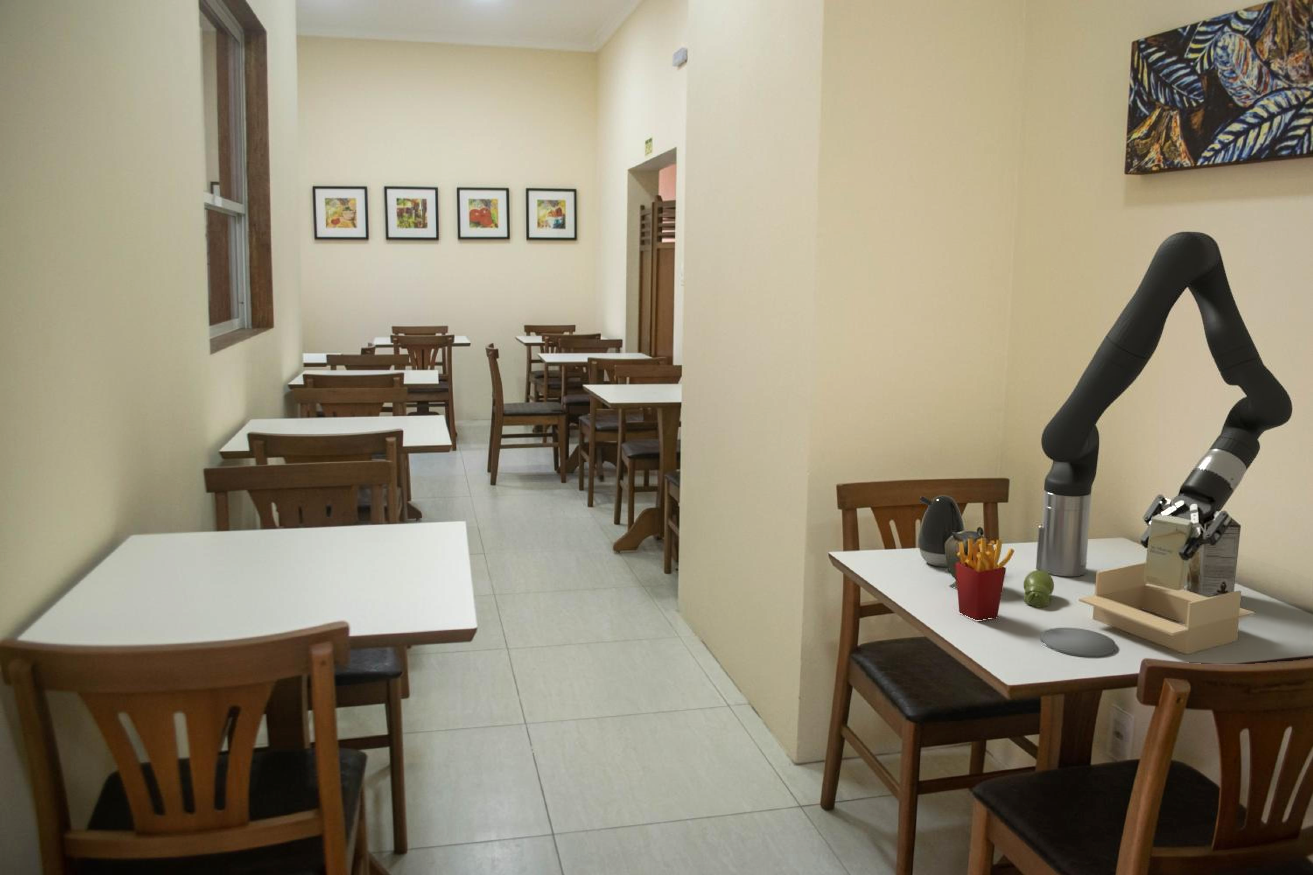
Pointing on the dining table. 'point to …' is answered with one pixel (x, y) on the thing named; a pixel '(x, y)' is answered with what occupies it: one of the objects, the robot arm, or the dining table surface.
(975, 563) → the french fries
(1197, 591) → the coffee box
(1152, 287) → the robot arm
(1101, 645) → the coaster
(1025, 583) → the pear
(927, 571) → the dining table surface
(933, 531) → the dark grey rounded figure
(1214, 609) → the carton
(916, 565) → the dining table surface
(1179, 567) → the skincare box
